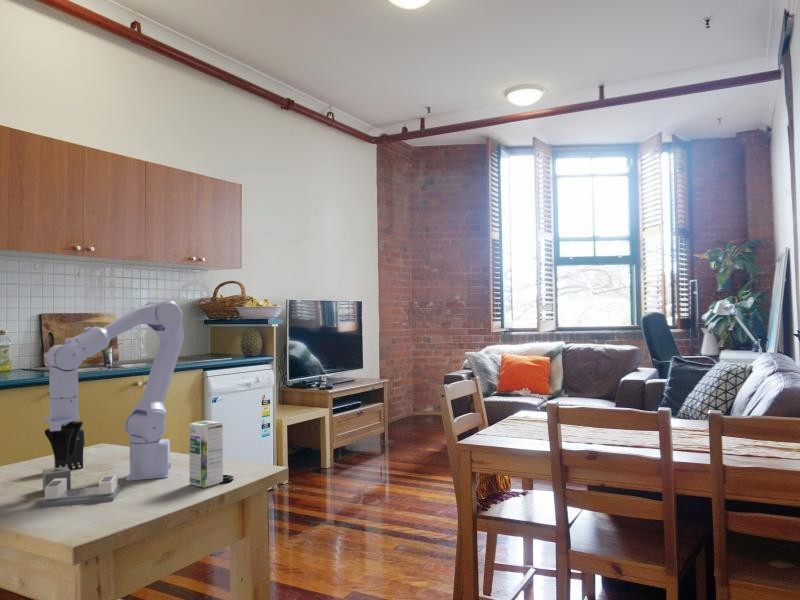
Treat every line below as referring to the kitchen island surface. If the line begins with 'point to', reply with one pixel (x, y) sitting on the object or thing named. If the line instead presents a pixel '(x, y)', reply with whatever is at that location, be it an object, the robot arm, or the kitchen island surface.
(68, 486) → the dice cube
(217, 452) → the syrup box
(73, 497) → the board
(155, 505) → the kitchen island surface
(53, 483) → the mounted modules
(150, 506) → the kitchen island surface
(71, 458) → the battery charger
